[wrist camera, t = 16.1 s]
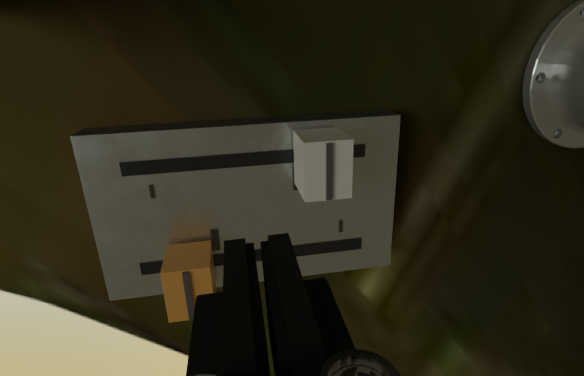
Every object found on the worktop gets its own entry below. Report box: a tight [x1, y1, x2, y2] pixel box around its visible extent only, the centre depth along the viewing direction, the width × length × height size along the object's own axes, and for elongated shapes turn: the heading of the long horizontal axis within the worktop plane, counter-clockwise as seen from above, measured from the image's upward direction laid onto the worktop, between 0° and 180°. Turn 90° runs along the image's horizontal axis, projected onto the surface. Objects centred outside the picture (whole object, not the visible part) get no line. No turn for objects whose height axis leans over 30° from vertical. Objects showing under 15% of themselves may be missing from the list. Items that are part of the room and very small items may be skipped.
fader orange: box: [160, 240, 216, 323], centre depth 28 cm, size 3×4×4 cm
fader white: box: [293, 127, 354, 203], centre depth 26 cm, size 3×4×4 cm
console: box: [70, 110, 401, 301], centre depth 30 cm, size 23×13×3 cm, turn 91°
